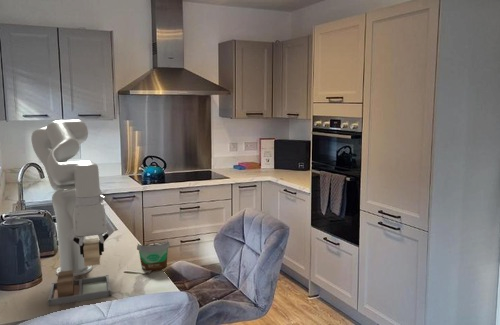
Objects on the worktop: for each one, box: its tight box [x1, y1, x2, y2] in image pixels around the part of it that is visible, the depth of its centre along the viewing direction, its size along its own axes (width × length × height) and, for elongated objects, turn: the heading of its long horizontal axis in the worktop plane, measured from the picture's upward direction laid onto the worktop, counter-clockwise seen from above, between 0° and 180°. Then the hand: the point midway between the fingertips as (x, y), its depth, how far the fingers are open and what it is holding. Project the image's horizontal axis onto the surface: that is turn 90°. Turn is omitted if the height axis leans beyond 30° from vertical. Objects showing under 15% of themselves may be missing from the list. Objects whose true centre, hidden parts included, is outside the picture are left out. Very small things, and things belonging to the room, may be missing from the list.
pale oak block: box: [83, 237, 101, 266], centre depth 149 cm, size 10×4×6 cm, turn 17°
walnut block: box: [56, 270, 75, 298], centre depth 148 cm, size 10×4×6 cm, turn 20°
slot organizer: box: [48, 274, 112, 306], centre depth 149 cm, size 15×18×2 cm
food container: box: [136, 238, 171, 273], centre depth 168 cm, size 12×6×10 cm, turn 114°
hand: (92, 254), depth 149 cm, fingers closed on pale oak block, 4 cm apart
